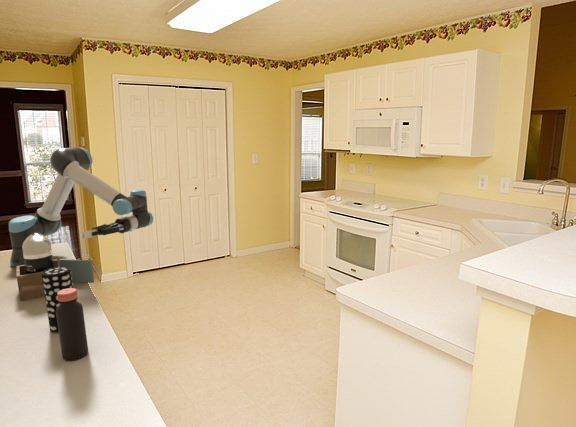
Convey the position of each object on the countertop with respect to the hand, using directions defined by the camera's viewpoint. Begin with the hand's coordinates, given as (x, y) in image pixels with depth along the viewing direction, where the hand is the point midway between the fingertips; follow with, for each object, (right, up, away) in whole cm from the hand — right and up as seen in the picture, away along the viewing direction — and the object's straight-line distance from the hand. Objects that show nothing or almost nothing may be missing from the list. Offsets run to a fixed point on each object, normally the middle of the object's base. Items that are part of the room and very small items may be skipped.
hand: (83, 235), depth 176 cm
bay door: (-3, -20, 0) cm, 21 cm away
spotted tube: (+15, -29, -41) cm, 53 cm away
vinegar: (+28, -32, -59) cm, 73 cm away
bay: (-13, -22, -9) cm, 27 cm away
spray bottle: (-12, -23, -8) cm, 27 cm away
